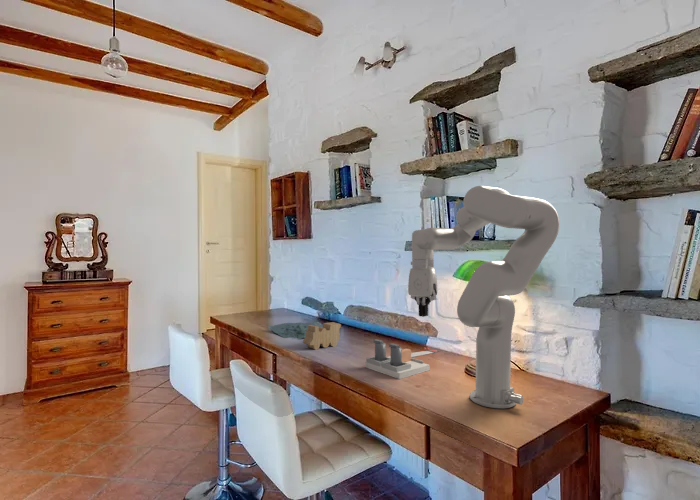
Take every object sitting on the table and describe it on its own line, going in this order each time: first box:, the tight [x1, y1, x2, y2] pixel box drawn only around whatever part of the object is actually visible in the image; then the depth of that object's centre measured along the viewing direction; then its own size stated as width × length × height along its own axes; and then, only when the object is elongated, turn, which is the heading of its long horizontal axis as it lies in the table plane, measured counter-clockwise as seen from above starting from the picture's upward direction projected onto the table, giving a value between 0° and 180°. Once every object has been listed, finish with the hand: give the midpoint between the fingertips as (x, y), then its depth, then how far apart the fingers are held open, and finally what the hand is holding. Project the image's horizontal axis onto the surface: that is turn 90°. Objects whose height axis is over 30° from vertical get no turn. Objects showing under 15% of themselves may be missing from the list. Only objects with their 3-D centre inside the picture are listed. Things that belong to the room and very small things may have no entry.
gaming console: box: [411, 347, 441, 358], centre depth 169 cm, size 22×1×10 cm
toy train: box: [302, 321, 342, 351], centre depth 178 cm, size 6×17×10 cm, turn 130°
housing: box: [365, 339, 431, 380], centre depth 146 cm, size 17×16×10 cm
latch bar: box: [402, 348, 412, 362], centre depth 149 cm, size 2×6×4 cm, turn 130°
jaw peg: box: [388, 343, 403, 367], centre depth 141 cm, size 5×4×8 cm
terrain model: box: [267, 321, 323, 340], centre depth 207 cm, size 26×28×5 cm
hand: (423, 315), depth 142 cm, fingers closed
